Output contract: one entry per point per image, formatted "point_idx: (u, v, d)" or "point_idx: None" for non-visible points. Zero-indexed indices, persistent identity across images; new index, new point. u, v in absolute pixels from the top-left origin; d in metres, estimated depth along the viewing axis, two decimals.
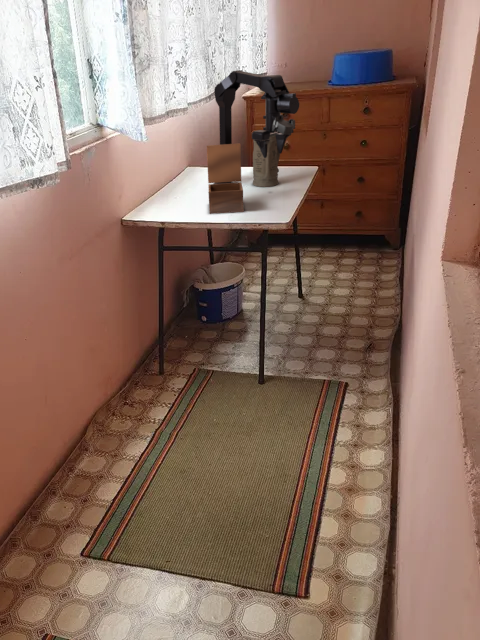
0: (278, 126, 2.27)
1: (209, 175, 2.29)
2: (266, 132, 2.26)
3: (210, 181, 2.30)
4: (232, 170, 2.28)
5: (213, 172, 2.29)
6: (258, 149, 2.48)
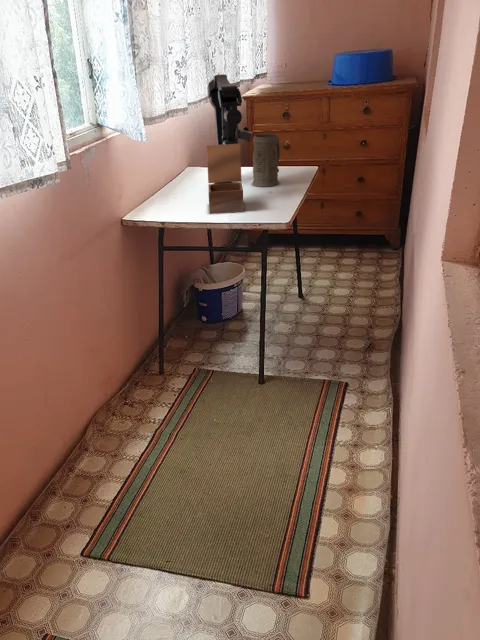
0: (242, 134, 2.31)
1: (209, 175, 2.29)
2: (237, 141, 2.28)
3: (210, 181, 2.30)
4: (232, 170, 2.28)
5: (213, 172, 2.29)
6: (258, 149, 2.48)
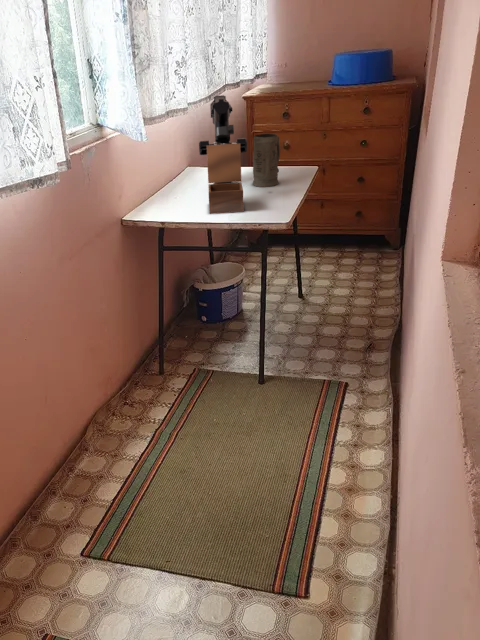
0: (216, 133, 2.34)
1: (209, 175, 2.29)
2: None
3: (210, 181, 2.30)
4: (232, 170, 2.28)
5: (213, 172, 2.29)
6: (258, 149, 2.48)
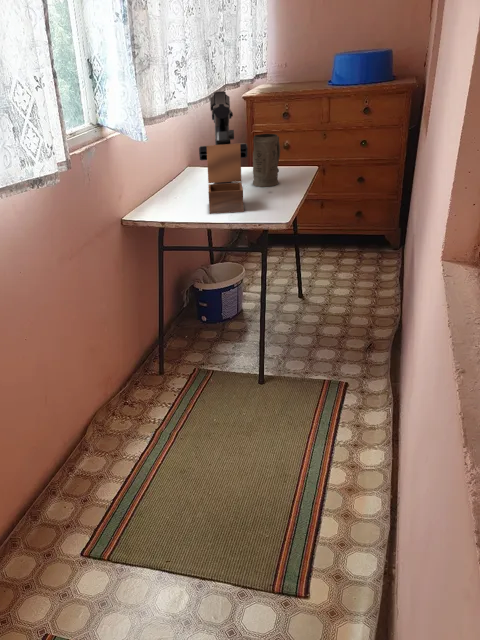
0: (216, 138, 2.32)
1: (209, 175, 2.29)
2: (205, 146, 2.34)
3: (210, 181, 2.30)
4: (232, 170, 2.28)
5: (213, 172, 2.29)
6: (258, 149, 2.48)
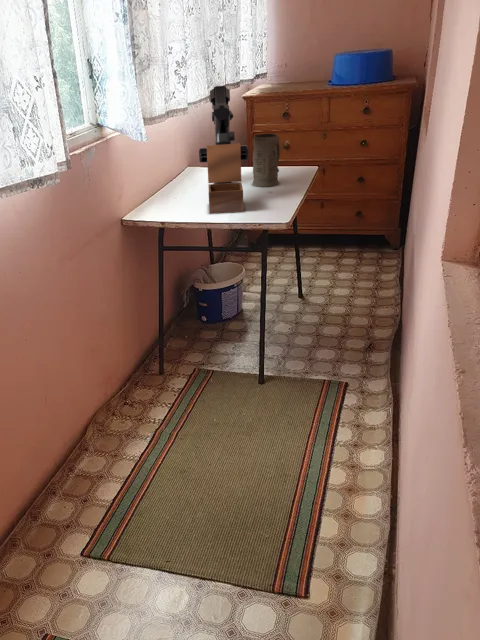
0: (216, 140, 2.28)
1: (209, 175, 2.29)
2: (205, 148, 2.30)
3: (210, 181, 2.30)
4: (232, 170, 2.28)
5: (213, 172, 2.29)
6: (258, 149, 2.48)
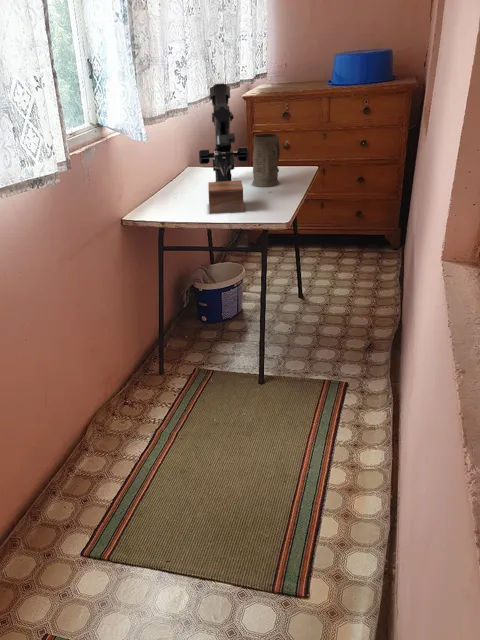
0: (216, 141, 2.26)
1: None
2: (205, 149, 2.28)
3: None
4: None
5: None
6: (258, 149, 2.48)
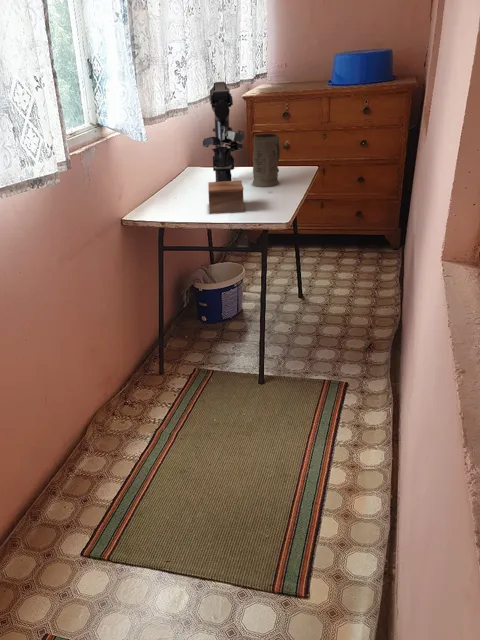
0: (228, 134, 2.32)
1: None
2: (216, 138, 2.30)
3: None
4: None
5: None
6: (258, 149, 2.48)
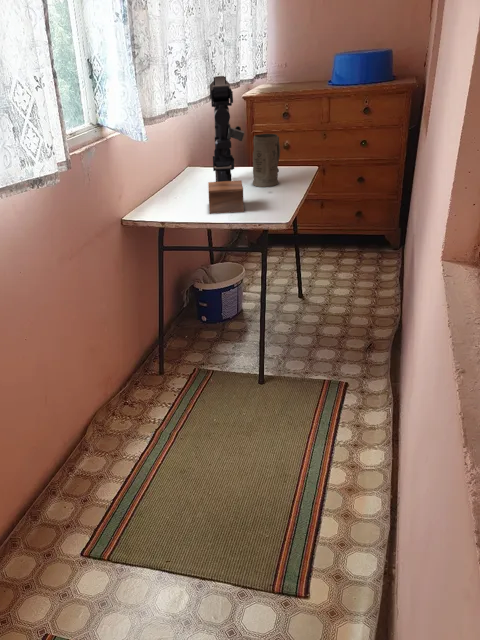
0: (234, 133, 2.33)
1: None
2: (229, 140, 2.31)
3: None
4: None
5: None
6: (258, 149, 2.48)
